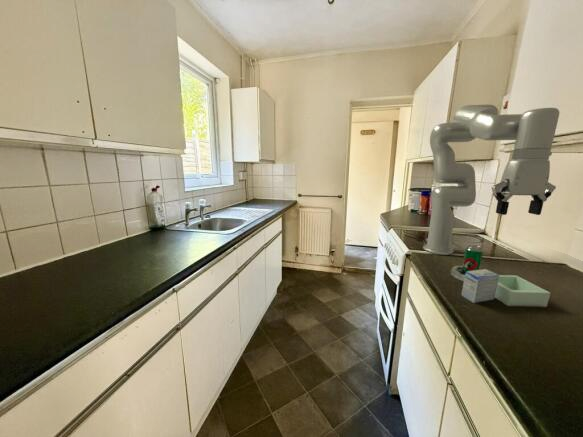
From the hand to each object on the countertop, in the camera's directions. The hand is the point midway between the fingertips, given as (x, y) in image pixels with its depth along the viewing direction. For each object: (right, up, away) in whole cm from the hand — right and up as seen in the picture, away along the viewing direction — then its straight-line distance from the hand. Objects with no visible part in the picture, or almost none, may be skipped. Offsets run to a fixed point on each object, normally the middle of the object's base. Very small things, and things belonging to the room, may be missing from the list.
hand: (517, 213), depth 70 cm
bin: (+2, -26, +4) cm, 27 cm away
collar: (-2, -23, +17) cm, 29 cm away
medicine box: (-10, -27, +3) cm, 29 cm away
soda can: (-2, -24, +17) cm, 29 cm away
